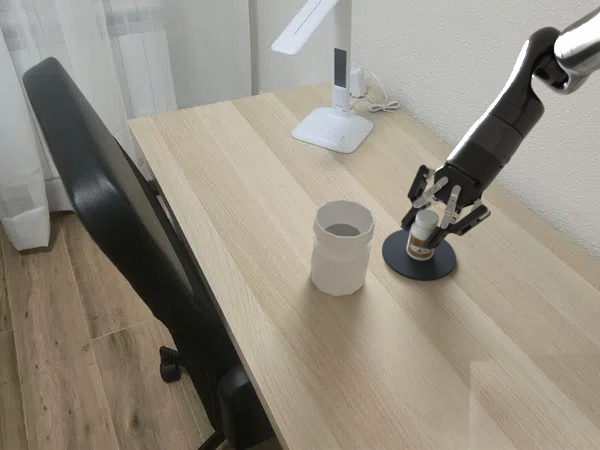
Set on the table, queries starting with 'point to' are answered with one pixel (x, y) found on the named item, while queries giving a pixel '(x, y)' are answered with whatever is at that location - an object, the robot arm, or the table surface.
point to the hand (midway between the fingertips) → (415, 238)
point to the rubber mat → (417, 269)
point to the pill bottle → (422, 234)
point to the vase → (341, 246)
